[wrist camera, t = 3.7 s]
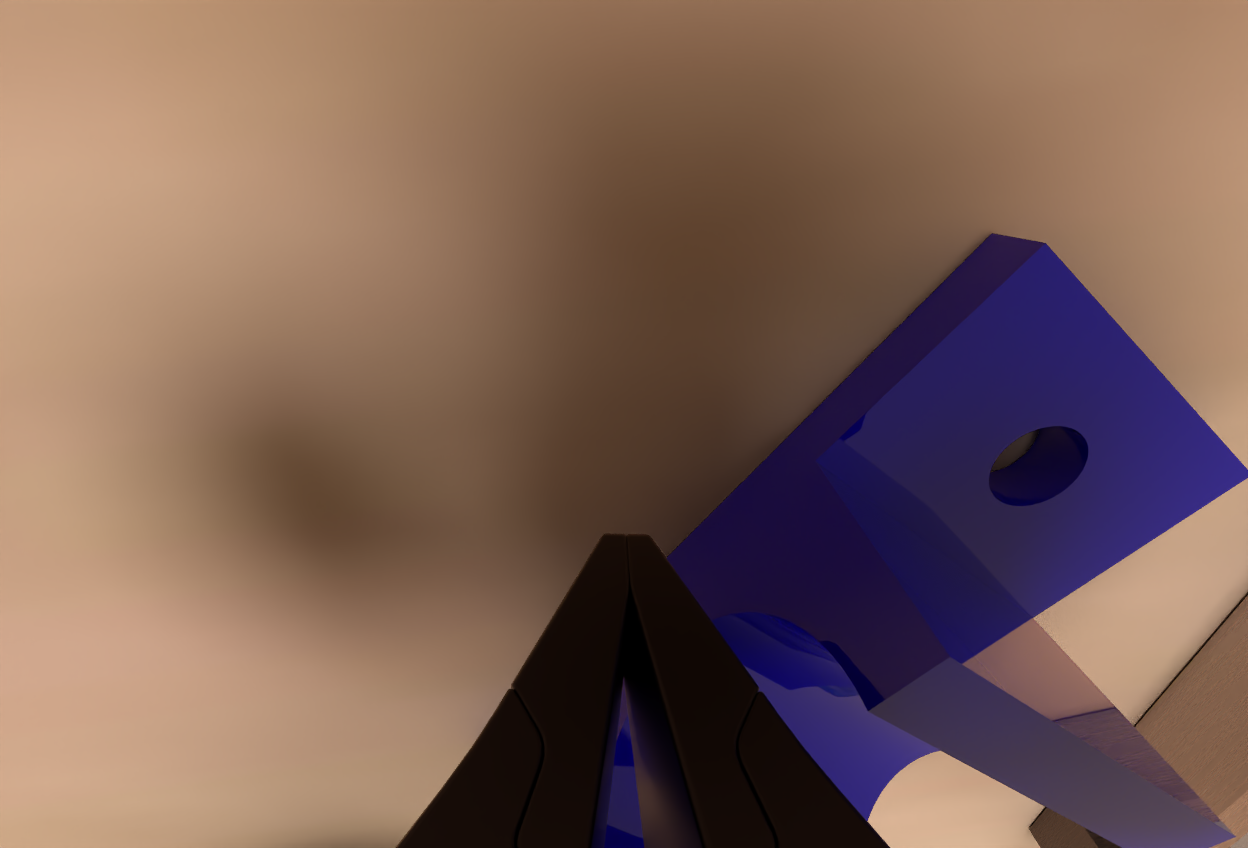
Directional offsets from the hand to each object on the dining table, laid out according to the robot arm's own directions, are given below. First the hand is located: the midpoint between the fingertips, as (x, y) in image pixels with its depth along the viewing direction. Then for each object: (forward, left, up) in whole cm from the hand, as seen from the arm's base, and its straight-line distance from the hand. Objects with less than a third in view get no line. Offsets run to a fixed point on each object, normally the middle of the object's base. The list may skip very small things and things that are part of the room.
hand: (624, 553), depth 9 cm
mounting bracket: (-4, -4, -3) cm, 7 cm away
